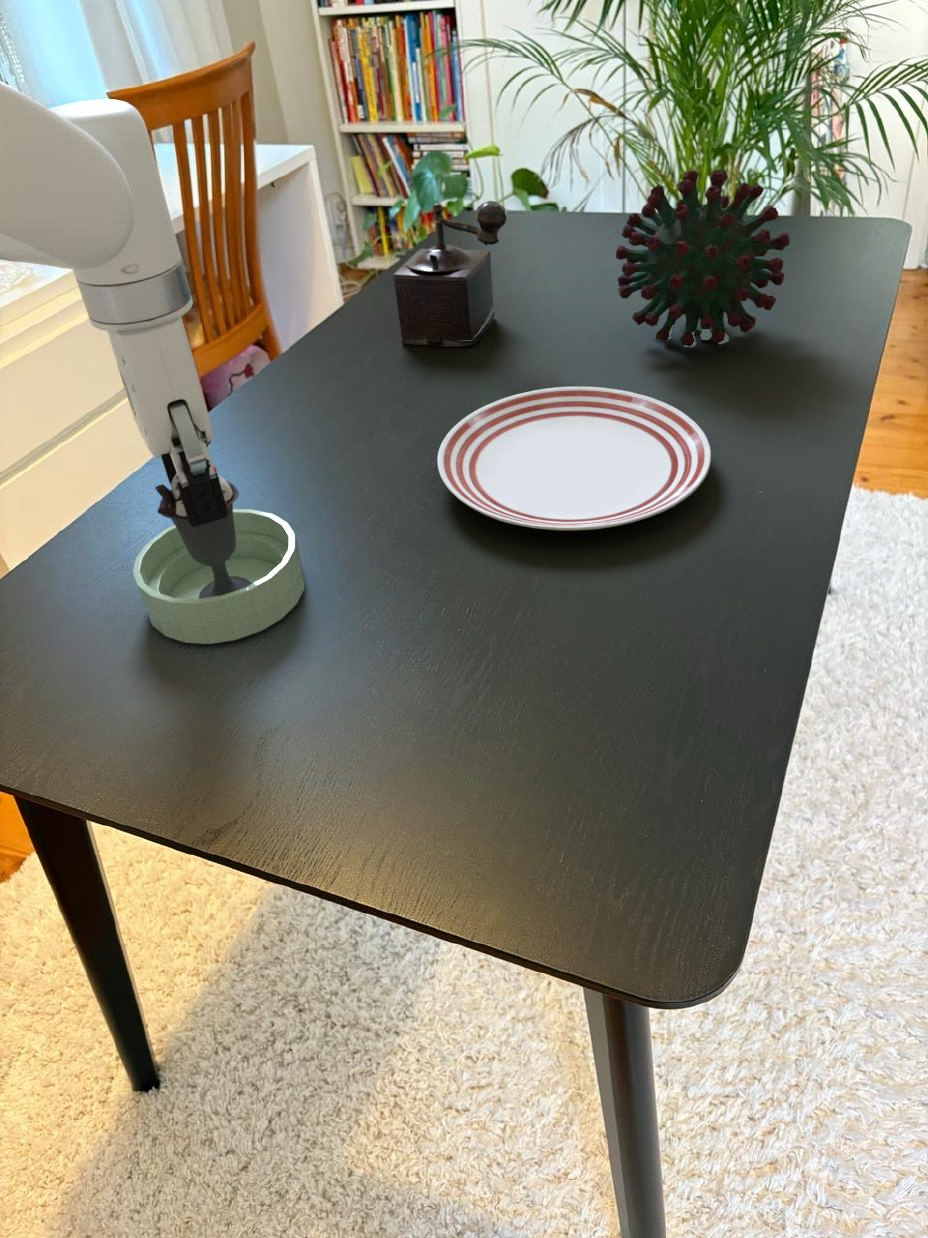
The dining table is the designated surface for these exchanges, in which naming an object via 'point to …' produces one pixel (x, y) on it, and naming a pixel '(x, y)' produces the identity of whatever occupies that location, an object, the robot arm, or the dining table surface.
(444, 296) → the coffee grinder
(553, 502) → the dinner plate
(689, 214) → the virus model
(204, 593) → the sundae
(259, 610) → the bowl
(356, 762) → the dining table surface
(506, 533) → the dining table surface
